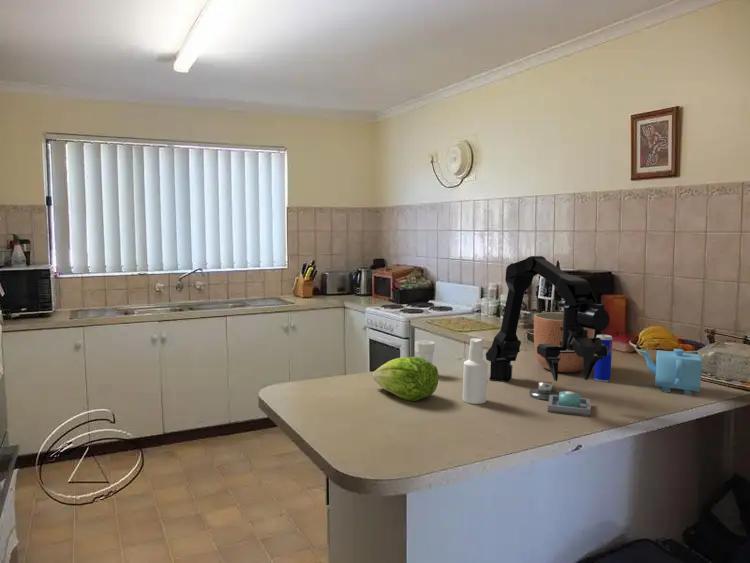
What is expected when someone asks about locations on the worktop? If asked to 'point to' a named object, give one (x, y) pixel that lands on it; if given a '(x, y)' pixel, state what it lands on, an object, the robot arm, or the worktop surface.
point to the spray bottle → (475, 374)
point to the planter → (555, 341)
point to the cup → (425, 350)
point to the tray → (582, 411)
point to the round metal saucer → (543, 391)
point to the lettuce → (408, 377)
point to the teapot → (676, 370)
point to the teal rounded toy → (569, 399)
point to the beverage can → (604, 361)
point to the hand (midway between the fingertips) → (570, 380)
